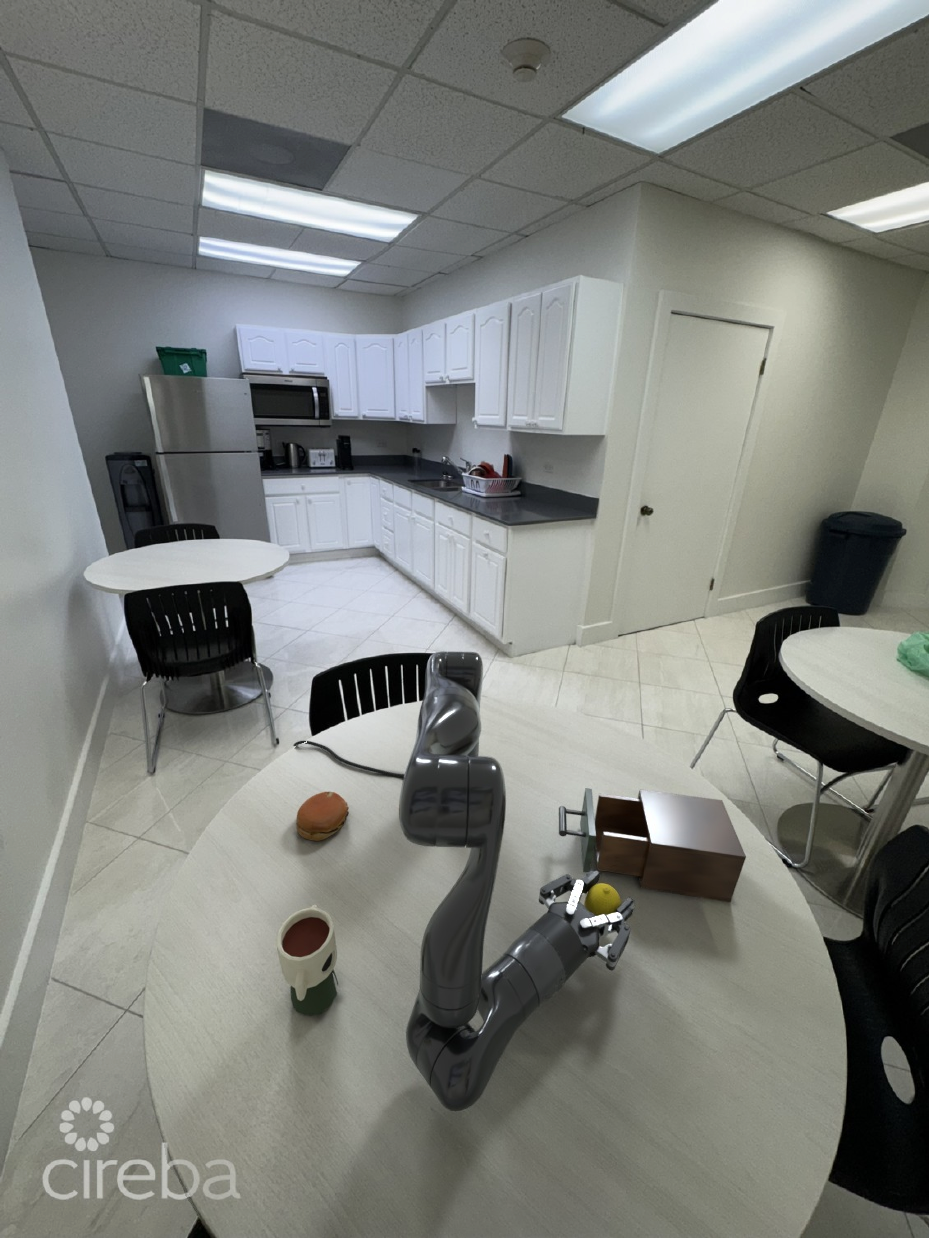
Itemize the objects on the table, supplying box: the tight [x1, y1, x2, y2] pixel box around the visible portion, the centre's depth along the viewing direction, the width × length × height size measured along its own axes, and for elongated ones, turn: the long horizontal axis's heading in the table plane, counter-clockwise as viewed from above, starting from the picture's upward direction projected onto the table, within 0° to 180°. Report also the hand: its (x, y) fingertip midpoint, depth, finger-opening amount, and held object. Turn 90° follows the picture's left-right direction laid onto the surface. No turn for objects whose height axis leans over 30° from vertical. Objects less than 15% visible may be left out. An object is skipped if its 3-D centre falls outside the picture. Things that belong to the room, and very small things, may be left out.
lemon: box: [583, 882, 622, 916], centre depth 76 cm, size 6×6×8 cm
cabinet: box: [637, 788, 747, 903], centre depth 87 cm, size 15×13×11 cm
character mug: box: [276, 904, 339, 1017], centre depth 66 cm, size 11×7×13 cm, turn 5°
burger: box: [295, 791, 350, 842], centre depth 96 cm, size 10×9×5 cm
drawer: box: [558, 787, 650, 877], centre depth 89 cm, size 18×11×9 cm, turn 80°
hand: (613, 888), depth 77 cm, fingers closed on lemon, 5 cm apart
